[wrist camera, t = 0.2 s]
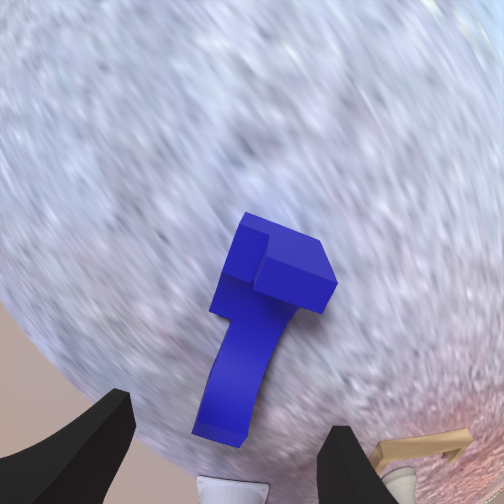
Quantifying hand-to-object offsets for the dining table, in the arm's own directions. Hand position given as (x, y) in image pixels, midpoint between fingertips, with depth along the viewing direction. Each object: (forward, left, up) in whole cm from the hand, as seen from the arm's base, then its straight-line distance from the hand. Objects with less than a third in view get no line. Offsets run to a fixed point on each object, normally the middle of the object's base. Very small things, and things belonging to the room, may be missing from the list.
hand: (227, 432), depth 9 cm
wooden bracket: (-16, -19, -10) cm, 27 cm away
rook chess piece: (-22, -19, -10) cm, 31 cm away
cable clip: (-1, 0, -10) cm, 10 cm away
